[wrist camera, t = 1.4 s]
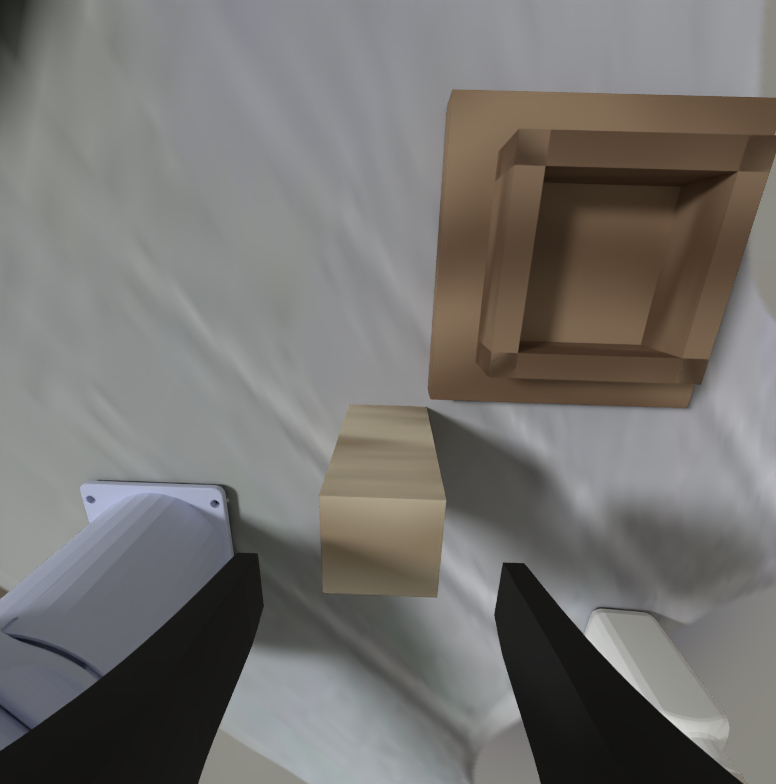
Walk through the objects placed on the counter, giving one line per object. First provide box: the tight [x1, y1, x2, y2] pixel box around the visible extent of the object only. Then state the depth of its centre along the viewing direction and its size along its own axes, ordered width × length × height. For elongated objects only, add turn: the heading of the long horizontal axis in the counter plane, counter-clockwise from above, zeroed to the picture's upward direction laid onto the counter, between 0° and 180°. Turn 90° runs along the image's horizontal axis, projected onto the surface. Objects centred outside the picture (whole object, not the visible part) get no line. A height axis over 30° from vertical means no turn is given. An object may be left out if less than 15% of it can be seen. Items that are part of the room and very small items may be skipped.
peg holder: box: [428, 90, 776, 408], centre depth 15 cm, size 12×12×4 cm
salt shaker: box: [584, 608, 747, 784], centre depth 19 cm, size 4×4×10 cm
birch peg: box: [319, 404, 446, 598], centre depth 16 cm, size 4×4×8 cm
